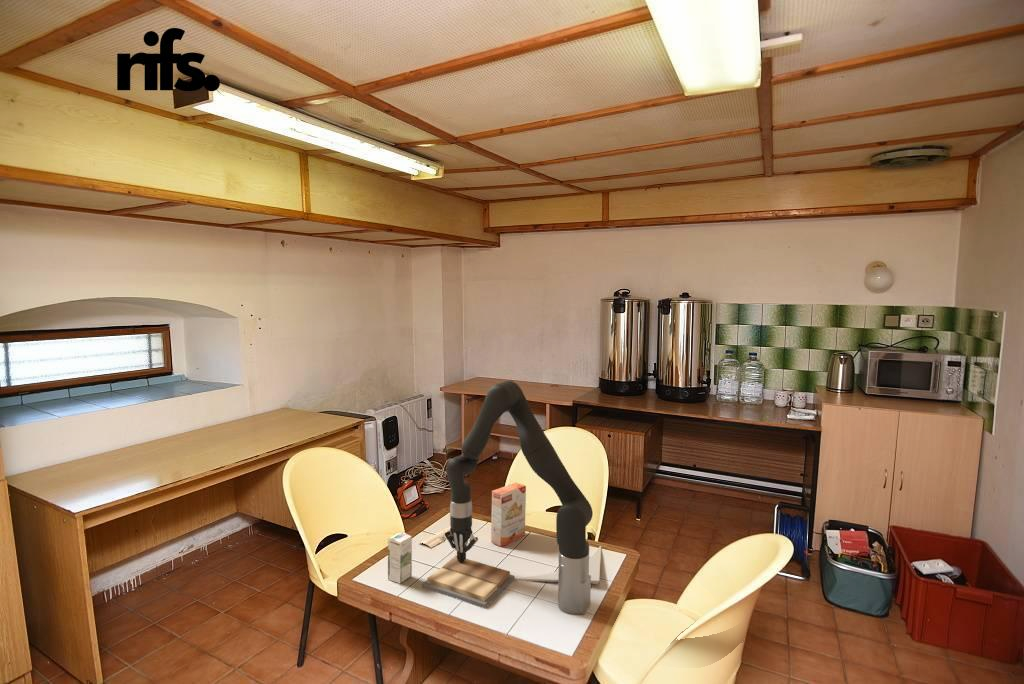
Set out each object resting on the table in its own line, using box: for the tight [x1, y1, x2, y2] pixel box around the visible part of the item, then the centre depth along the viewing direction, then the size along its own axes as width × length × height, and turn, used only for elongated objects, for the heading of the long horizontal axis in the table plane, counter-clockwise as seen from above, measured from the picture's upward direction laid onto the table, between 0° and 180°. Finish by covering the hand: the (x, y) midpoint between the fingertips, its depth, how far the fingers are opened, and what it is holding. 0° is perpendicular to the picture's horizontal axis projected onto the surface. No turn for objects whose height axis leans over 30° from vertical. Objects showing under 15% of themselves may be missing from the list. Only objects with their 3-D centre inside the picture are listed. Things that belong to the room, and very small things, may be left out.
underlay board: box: [422, 574, 516, 609], centre depth 171 cm, size 24×19×1 cm
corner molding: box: [513, 545, 602, 585], centre depth 185 cm, size 30×2×30 cm
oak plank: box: [426, 566, 497, 601], centre depth 167 cm, size 22×8×2 cm, turn 61°
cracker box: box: [490, 482, 527, 548], centre depth 202 cm, size 14×6×21 cm, turn 136°
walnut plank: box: [442, 555, 511, 588], centre depth 174 cm, size 22×8×2 cm, turn 61°
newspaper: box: [419, 526, 451, 549], centre depth 206 cm, size 24×7×2 cm, turn 146°
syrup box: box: [387, 532, 413, 585], centre depth 173 cm, size 6×6×14 cm
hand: (461, 560), depth 179 cm, fingers closed
